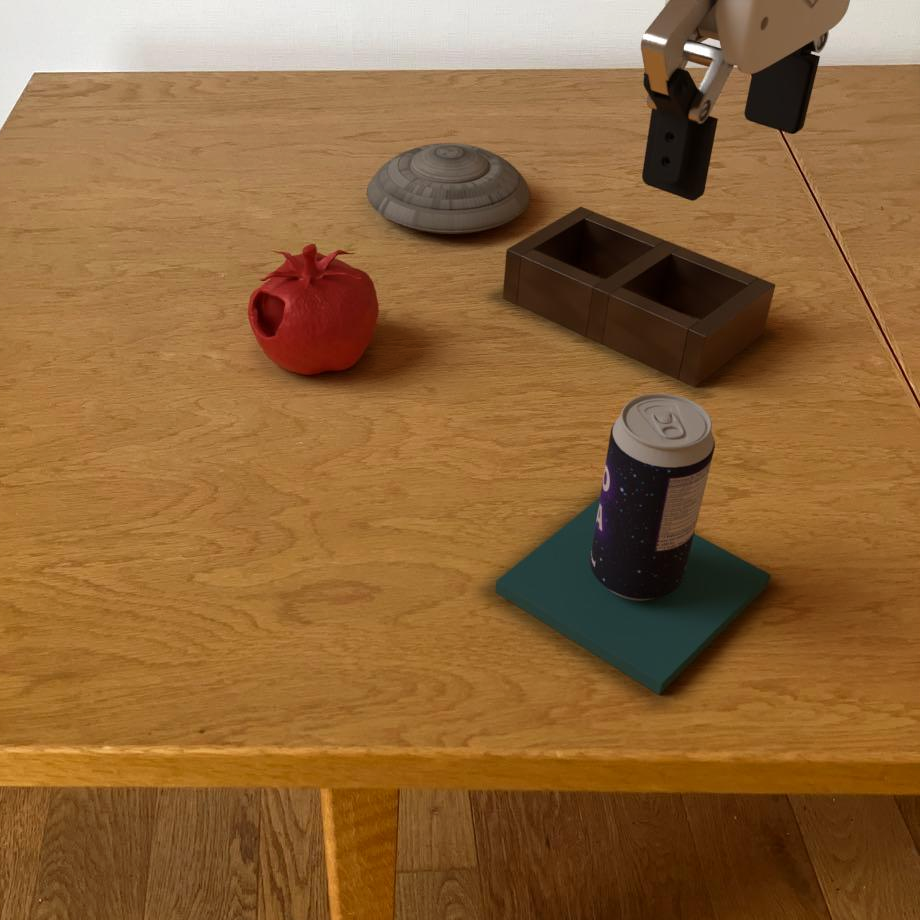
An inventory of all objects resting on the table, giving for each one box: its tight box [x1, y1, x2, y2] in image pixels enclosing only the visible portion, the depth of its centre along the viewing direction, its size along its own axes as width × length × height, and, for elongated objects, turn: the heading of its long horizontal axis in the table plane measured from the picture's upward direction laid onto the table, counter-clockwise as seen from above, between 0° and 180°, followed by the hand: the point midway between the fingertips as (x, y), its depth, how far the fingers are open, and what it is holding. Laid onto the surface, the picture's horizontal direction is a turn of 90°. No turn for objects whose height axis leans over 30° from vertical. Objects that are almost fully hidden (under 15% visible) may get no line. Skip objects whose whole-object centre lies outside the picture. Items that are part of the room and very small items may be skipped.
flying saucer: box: [366, 142, 532, 235], centre depth 109 cm, size 15×15×6 cm
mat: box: [494, 496, 772, 695], centre depth 74 cm, size 12×12×1 cm
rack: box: [502, 206, 776, 388], centre depth 95 cm, size 18×10×4 cm, turn 47°
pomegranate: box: [247, 243, 380, 376], centre depth 90 cm, size 10×10×9 cm
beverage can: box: [590, 392, 716, 601], centre depth 69 cm, size 6×6×12 cm
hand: (724, 156), depth 61 cm, fingers open, 9 cm apart
